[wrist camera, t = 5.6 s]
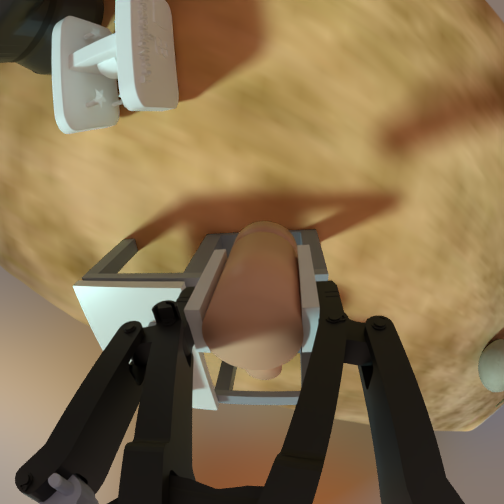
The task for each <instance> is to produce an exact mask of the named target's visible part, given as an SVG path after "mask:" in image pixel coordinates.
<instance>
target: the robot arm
mask: <svg viewBox="0 0 504 504" xmlns="http://www.w3.org/2000/svg"><path fill="white" fill-rule="evenodd" d="M103 11H104V6H103V0H0V63H4V62H16V63H18V64H20V65H22V66H24V67H26V68H28V69H30V70H32V71H33V72H35V73H37V74H45V75H52V32H53V28H54V26H55V25H56V23H57V22H59V21H60V20H62V19H64V18H65V17H67V16H74V17H77V18H80V19H83V20H86V21H89V22H92V23H95V24H98V25H101V22H102V18H103ZM297 250H298V267H299V280H300V294H301V310H302V325H303V335H304V336H303V343H302V352H311V355H310V359H309V363H308V367H307V370H306V374H305V377H304V381H303V384H302V388H301V391H300V395H299V398H298V401H297V404H296V408H295V411H294V414H293V417H292V420H291V423H290V426H289V429H288V432H287V435H286V438H285V441H284V444H283V447H282V450H281V452H280V453H279V454H278V455H277V457H276V458H275V461H274V463H273V466H272V468H271V471H270V473H269V476H268V479H267V481H266V483H265V486H264V487H263V486H242V487H235V488H225V489H215V488H212V487H209V486H207V485H204V484H201V483H199V482H196V481H195V477H194V474H193V469H192V394H193V364H194V356H193V353H192V349H193V346H194V345H195V349H196V352H208V353H211V350H210V349H209V348H208V346H207V345H206V343H205V341H204V338H203V335H202V323H203V320H204V317H205V314H206V312H207V309H208V307H209V304H210V302H211V299H212V297H213V294H214V291H215V289H216V286H217V284H218V281H219V279H220V276H221V274H222V271H223V269H224V266H225V264H226V261H227V253H226V249H219V250H214V252H213V254H212V256H211V258H210V259H209V261H208V263H207V265H206V267H205V269H204V271H203V273H202V275H201V277H200V279H199V281H198V283H197V285H196V286H194V287H186V288H185V289H184V290H183V291H181V293H180V295H179V297H178V298H177V300H176V302H175V301H172V300H165V301H161V302H159V303H157V304H156V305H154V306H153V308H152V312H153V315H154V318H155V320H156V325H154V326H149V327H142V324H141V323H140V322H139V321H129V322H126V323H124V324H123V325H122V326H121V327H120V328H119V329H118V331H117V332H116V333H115V335H114V336H113V338H112V339H111V341H110V342H109V344H108V345H107V346H106V348H105V349H104V351H103V352H102V354H101V355H100V357H99V358H98V360H97V361H96V363H95V364H94V366H93V367H92V369H91V370H90V372H89V373H88V375H87V376H86V378H85V380H84V381H83V383H82V384H81V386H80V388H79V389H78V390H77V392H76V394H75V395H74V397H73V398H72V400H71V402H70V403H69V405H68V406H67V408H66V410H65V411H64V413H63V415H62V416H61V418H60V420H59V422H58V423H57V425H56V427H55V429H54V430H53V432H52V434H51V435H50V437H49V439H48V441H47V442H46V444H45V445H44V446H43V447H42V448H41V449H40V450H39V451H38V452H37V453H36V454H35V455H34V456H32V457H31V458H30V459H29V460H28V461H27V462H26V463H25V464H24V465H23V466H22V467H21V468H20V469H19V470H18V471H17V473H16V476H15V483H16V486H17V488H18V489H19V490H20V491H21V492H22V493H23V494H25V495H27V496H28V497H30V498H32V499H33V500H35V501H37V502H38V503H40V504H98V501H97V499H96V498H95V494H96V493H97V491H98V490H99V489H100V487H101V485H102V484H103V482H104V480H105V478H106V476H107V474H108V472H109V470H110V467H111V465H112V462H113V460H114V458H115V455H116V453H117V451H118V449H119V446H120V444H121V442H122V439H123V437H124V435H125V433H126V431H127V428H128V426H129V424H130V422H131V419H132V417H133V415H134V413H135V411H136V409H137V406H138V404H139V402H140V404H139V409H138V415H137V422H136V428H135V435H134V440H133V441H132V442H129V443H127V444H126V446H125V449H124V454H123V462H122V469H121V478H120V485H119V495H118V498H116V499H115V500H113V501H111V502H109V503H108V504H312V503H313V499H314V496H315V493H316V490H317V486H318V482H319V479H320V476H321V472H322V468H323V464H324V460H325V456H326V452H327V447H328V443H329V438H330V434H331V429H332V425H333V420H334V415H335V410H336V405H337V399H338V394H339V388H340V382H341V376H342V369H343V363H348V364H354V365H358V369H359V373H360V377H361V382H362V387H363V391H364V396H365V401H366V406H367V411H368V417H369V422H370V427H371V433H372V439H373V445H374V452H375V458H376V465H377V473H378V480H379V489H380V497H381V503H382V504H465V503H464V502H463V501H462V499H461V498H460V496H459V495H458V493H457V492H456V491H455V489H454V488H453V487H452V485H451V484H450V482H449V481H448V480H447V478H446V475H445V471H444V467H443V463H442V459H441V456H440V452H439V448H438V444H437V441H436V438H435V434H434V431H433V427H432V424H431V421H430V418H429V415H428V412H427V409H426V406H425V403H424V400H423V397H422V394H421V392H420V389H419V386H418V383H417V381H416V378H415V375H414V373H413V370H412V367H411V365H410V362H409V360H408V357H407V355H406V352H405V350H404V348H403V345H402V343H401V340H400V338H399V336H398V333H397V331H396V329H395V327H394V324H393V323H392V321H391V320H390V319H388V318H387V317H384V316H373V317H370V318H369V319H367V321H366V322H365V323H361V322H356V321H353V320H350V319H349V318H348V316H347V315H346V314H345V313H344V310H343V306H342V303H341V299H340V295H339V292H338V288H337V285H336V284H335V283H334V282H333V281H316V280H315V274H314V268H313V263H312V257H311V251H310V246H309V245H297ZM130 360H132V361H131V363H130V364H129V362H130Z"/></svg>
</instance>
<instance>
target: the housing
mask: <svg viewBox="0 0 504 504" xmlns="http://www.w3.org/2000/svg"><path fill="white" fill-rule="evenodd" d="M288 231H289V232H290V233H291V234H292V235H293V237H294V239H295V241H296V244H297V245H309V246H310V251H311V257H312V263H313V268H314V274H315V280H316V281H328V271H327V267H326V263H325V260H324V256H323V252H322V249H321V245H320V241H319V238H318V234H317V231H316V229H313V230H288ZM238 234H239V233H221V234H207V235H206V236H205V238H204V240H203V241H202V243H201V245H200V246H199V248H198V249H197V251H196V253H195V254H194V256H193V258H192V259H191V261H190V263H189V264H188V266H187V268H186V269H185V271H184V273H124V274H117V273H118V272H119V271H120V270H121V268H122V267H123V266H124V265H125V264H126V263H127V262H128V261H129V260H130V259H131V258H132V257H133V256H134V255H135V254H136V253H137V252H138V250H137V246H136V242H135V239H123V240H122V241H121V242H120V243H119V244H118V245H117V246H115V247H114V248H113V249H112V250H111V251H110V252H109V253H108V254H107V255H105V256H104V257H103V258H102V259H101V260H100V261H99V262H98V263H97V264H96V265H95V266H94V267H92V268H91V269H90V270H89V271H88V272H87V273H86V274H85V275H84V276H83V277H82V280H83V281H185V286H186V287H194V286H196V285H197V283H198V281H199V279H200V277H201V275H202V273H203V271H204V269H205V267H206V265H207V263H208V261H209V259H210V258H211V256H212V254H213V252H214V250H219V249H226V253H227V259H228V256H229V254H230V252H231V249H232V247H233V244H234V242H235V239H236V237H237V235H238ZM298 353H300V359H301V388H302V384H303V381H304V377H305V374H306V370H307V367H308V363H309V359H310V355H311V352H302V346H301V348H300V350H299V352H298ZM236 369H237V367H235V366H232V365H230V364H228V363H226V362H224V361H222V363H221V367H220V371H219V375H218V379H217V383H216V387H215V389H214V390H215V393H216V396H217V399H218V402H219V403H230V404H250V405H296V404H297V401H298V398H299V395H300V391H282V392H265V391H232V390H233V385H234V380H235V374H236Z"/></svg>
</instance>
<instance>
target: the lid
mask: <svg viewBox="0 0 504 504" xmlns="http://www.w3.org/2000/svg"><path fill="white" fill-rule="evenodd" d="M73 288H74V290H75V293H76V295H77V298H78V300H79V302H80V305H81V307H82V309H83V311H84V313H85V316H86V318H87V320H88V322H89V324H90V326H91V328H92V330H93V332H94V334H95V336H96V338H97V340H98V342H99V344H100V346H101V348H102V350H103V351H104V349H105V348H106V346H107V345H108V344H109V342H110V341H111V339H112V338H113V336H114V335H115V333H116V332H117V331H118V329H119V328H120V327H121V326H122V325H123V324H124V323H126V322H129V321H139V322H140V323H141V324H142V327H149V326H154V325H156V320H155V318H154V315H153V312H152V308H153V306H154V305H156V304H157V303H159V302H161V301H165V300H172V301H175V302H176V300H177V298H178V297H179V295H180V293H181V291H183V290H184V289H185V288H186V286H185V281H79V280H78V281H77V282H76V283H75V284H74V285H73ZM192 353H193V356H194V364H193V394H192V408H199V409H208V410H218V406H219V402H218V399H217V396H216V393H215V390H214V387H213V384H212V380H211V377H210V374H209V371H208V367H207V364H206V361H205V357H204V354H203V352H196V349H195V345H194V346H193V349H192ZM131 361H132V360H130V362H129V364H130V363H131Z"/></svg>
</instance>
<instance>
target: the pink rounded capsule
mask: <svg viewBox="0 0 504 504" xmlns="http://www.w3.org/2000/svg"><path fill="white" fill-rule="evenodd" d="M202 335H203V338H204V341H205V343H206V345H207V346H208V348H209V349H210V350H211V352H212V353H213V354H214V355H216V356H217V357H218V358H219V359H221V360H222V361H224V362H226V363H228V364H230V365H232V366H235V367H238V368H242V369H248V370H267V369H272V368H276V367H278V366H281V365H283V364H285V363H287V362H288V361H290V360H291V359H292V358H293V357H294V356H295V355H296V354H297V353H298V352H299V350H300V348H301V346H302V343H303V336H304V335H303V325H302V310H301V294H300V280H299V267H298V250H297V244H296V241H295V239H294V237H293V235H292V234H291V233H290V232H289V231H288V230H287V229H286V228H285V227H283V226H282V225H280V224H277V223H274V222H270V221H259V222H255V223H252V224H250V225H248V226H246V227H245V228H243V229H242V230H241V231H240V233H239V234H238V235H237V237H236V239H235V242H234V244H233V247H232V249H231V252H230V254H229V256H228V259H227V261H226V264H225V266H224V269H223V271H222V274H221V276H220V279H219V281H218V284H217V286H216V289H215V291H214V294H213V297H212V299H211V302H210V304H209V307H208V309H207V312H206V314H205V317H204V320H203V323H202Z"/></svg>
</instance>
